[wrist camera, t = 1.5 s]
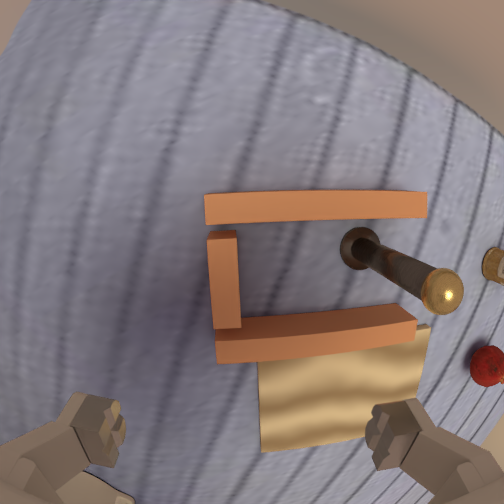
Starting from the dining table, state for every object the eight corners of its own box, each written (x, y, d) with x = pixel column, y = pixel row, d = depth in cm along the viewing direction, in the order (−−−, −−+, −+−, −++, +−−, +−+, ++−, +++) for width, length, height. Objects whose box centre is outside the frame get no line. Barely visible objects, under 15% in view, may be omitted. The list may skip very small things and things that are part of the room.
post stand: (377, 267, 32) (473, 326, 17) (339, 270, 32) (422, 338, 16) (378, 226, 31) (483, 260, 16) (340, 227, 31) (432, 266, 15)
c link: (218, 339, 33) (217, 364, 28) (208, 193, 30) (204, 194, 25) (393, 322, 34) (414, 340, 29) (401, 190, 31) (427, 192, 26)
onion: (455, 358, 36) (487, 386, 28) (481, 329, 36) (516, 352, 28) (465, 377, 37) (495, 404, 29) (490, 351, 37) (521, 374, 29)
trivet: (403, 420, 38) (407, 425, 36) (260, 446, 36) (261, 452, 35) (426, 324, 34) (431, 327, 33) (256, 345, 33) (257, 351, 32)
